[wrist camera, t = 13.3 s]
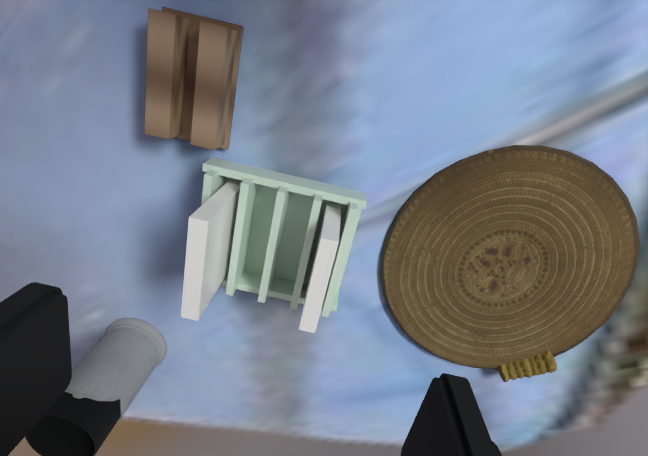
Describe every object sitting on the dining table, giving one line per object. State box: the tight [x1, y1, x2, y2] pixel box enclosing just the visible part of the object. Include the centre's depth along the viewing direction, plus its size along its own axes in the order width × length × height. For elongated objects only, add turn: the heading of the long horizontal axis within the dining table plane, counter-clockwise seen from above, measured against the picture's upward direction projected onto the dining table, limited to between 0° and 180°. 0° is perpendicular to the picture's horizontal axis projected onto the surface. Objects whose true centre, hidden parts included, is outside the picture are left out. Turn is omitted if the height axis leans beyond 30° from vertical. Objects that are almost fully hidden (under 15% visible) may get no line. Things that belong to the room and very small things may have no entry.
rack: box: [201, 157, 367, 333], centre depth 39 cm, size 14×17×11 cm
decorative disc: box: [380, 145, 640, 382], centre depth 44 cm, size 29×3×30 cm
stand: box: [145, 7, 243, 150], centre depth 37 cm, size 12×8×4 cm, turn 168°
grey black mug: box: [25, 318, 167, 456], centre depth 47 cm, size 9×14×15 cm, turn 163°
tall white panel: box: [181, 178, 243, 321], centre depth 38 cm, size 10×2×12 cm, turn 168°
